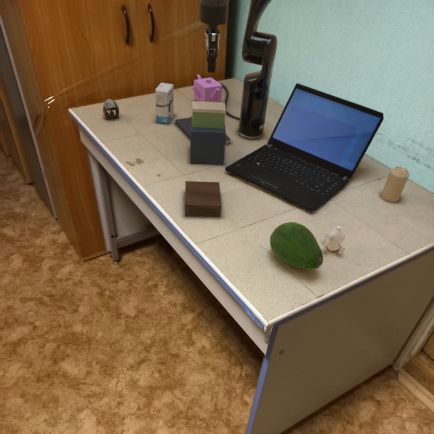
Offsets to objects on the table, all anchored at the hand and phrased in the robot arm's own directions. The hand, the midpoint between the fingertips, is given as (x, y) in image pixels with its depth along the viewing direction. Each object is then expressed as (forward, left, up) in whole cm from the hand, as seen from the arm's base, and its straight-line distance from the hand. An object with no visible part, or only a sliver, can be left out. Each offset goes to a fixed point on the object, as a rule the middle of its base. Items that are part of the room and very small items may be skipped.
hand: (210, 67), depth 123 cm
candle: (+22, +57, -28) cm, 67 cm away
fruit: (+53, +21, -28) cm, 64 cm away
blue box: (0, 0, -28) cm, 28 cm away
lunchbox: (0, 0, -17) cm, 17 cm away
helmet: (-27, -35, -28) cm, 52 cm away
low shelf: (+29, -2, -28) cm, 40 cm away
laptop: (+8, +30, -28) cm, 42 cm away
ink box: (-28, -15, -28) cm, 43 cm away
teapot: (-44, +1, -28) cm, 52 cm away
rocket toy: (+48, +32, -28) cm, 64 cm away
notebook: (-17, -1, -28) cm, 33 cm away
